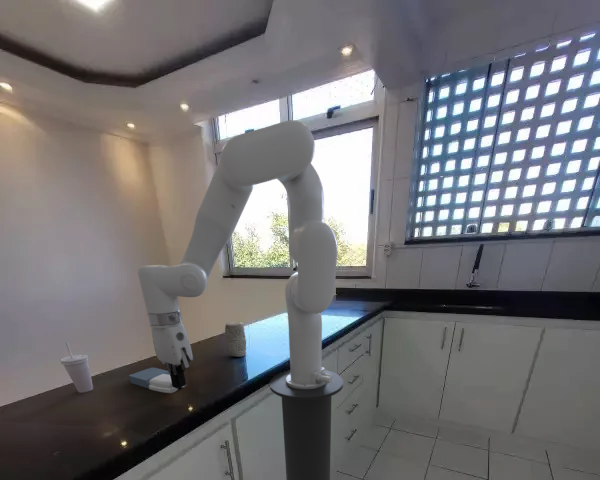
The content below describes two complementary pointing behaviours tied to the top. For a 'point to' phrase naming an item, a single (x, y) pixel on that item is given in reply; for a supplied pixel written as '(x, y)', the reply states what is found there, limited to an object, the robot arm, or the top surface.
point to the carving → (235, 339)
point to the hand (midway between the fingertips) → (179, 386)
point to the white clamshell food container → (162, 384)
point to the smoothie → (78, 370)
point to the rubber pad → (146, 376)
